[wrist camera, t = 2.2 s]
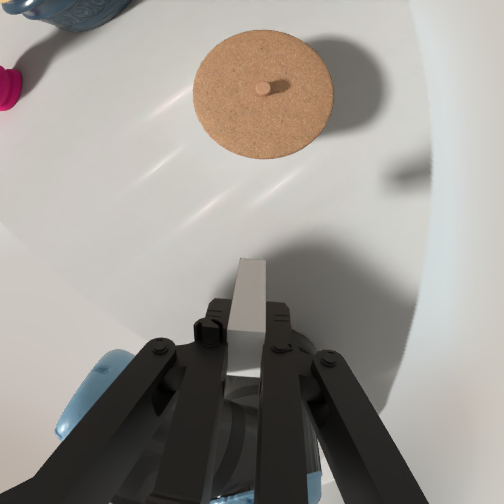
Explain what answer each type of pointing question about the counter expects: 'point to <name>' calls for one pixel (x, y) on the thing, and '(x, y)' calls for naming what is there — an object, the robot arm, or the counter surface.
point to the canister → (67, 12)
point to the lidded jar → (263, 94)
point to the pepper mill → (9, 88)
